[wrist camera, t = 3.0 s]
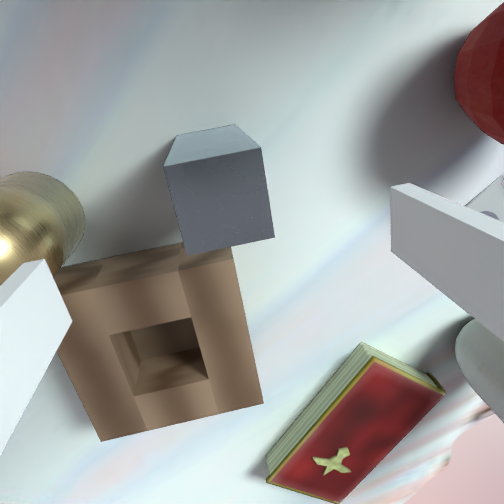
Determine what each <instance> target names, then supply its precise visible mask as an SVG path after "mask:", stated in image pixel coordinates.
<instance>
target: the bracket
mask: <svg viewBox="0 0 504 504" xmlns="http://www.w3.org/2000/svg"><path fill="white" fill-rule="evenodd" d="M503 180H504V178H503V176H502V175H501V176H500V177H499V178H497V179H496V180H495V181H494V182H493V183H491V184H490V185H489V186H488V187H487V188H485V189H484V190H483V191H482V192H481V193H479V194H478V195H477V196H476V197H475V198H474V199H473V200H471V201H470V202H469V203H468V204H467V205H466V207H468V208H470V209H473V210H475V211H478V212H480V213H482V214H485V215H487V216H490V217H492V218H494V219H497V220H499V221H501V222H504V187H503V185H502V182H503Z"/></svg>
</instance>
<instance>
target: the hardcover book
mask: <svg viewBox="0 0 504 504" xmlns="http://www.w3.org/2000/svg"><path fill="white" fill-rule="evenodd" d="M446 394H447V393H446V391H445V390H444V389H443V387H442V386H441V385H440V383H439V382H438V381H437V380H436V379H435V378H434V376H433V375H432V374H431V373H428V374H427V375H426V374H424V373H422V372H420V371H418V370H416V369H414V368H413V367H411V366H409V365H407V364H405V363H403V362H401V361H399V360H397V359H395V358H393V357H391V356H389V355H387V354H385V353H383V352H381V351H379V350H377V349H375V348H373V347H371V346H369V345H367V344H365V343H363V342H361V343H360V344H359V345H358V346H357V348H356V349H355V350H354V351H353V352H352V354H351V355H350V356H349V357H348V358H347V360H346V361H345V362H344V363H343V364H342V365H341V367H340V368H339V369H338V370H337V371H336V373H335V374H334V375H333V376H332V377H331V379H330V380H329V381H328V382H327V383H326V385H325V386H324V387H323V388H322V389H321V391H320V392H319V393H318V394H317V395H316V397H315V398H314V399H313V400H312V401H311V402H310V404H309V405H308V406H307V407H306V408H305V410H304V411H303V412H302V413H301V414H300V416H299V417H298V418H297V419H296V420H295V422H294V423H293V424H292V425H291V426H290V428H289V429H288V430H287V431H286V432H285V434H284V435H283V436H282V437H281V438H280V439H279V441H278V442H277V443H276V444H275V445H274V447H273V448H272V449H271V450H270V451H269V453H268V454H267V455H266V460H267V465H268V470H269V476H268V477H267V478H266V483H269V484H272V485H276V486H279V487H282V488H285V489H289V490H292V491H295V492H298V493H302V494H305V495H308V496H311V497H315V498H318V499H321V500H324V501H328V502H331V503H334V504H340V503H341V502H342V501H343V499H344V498H345V497H346V496H347V495H348V494H349V493H350V492H351V491H352V490H353V489H354V488H355V487H356V486H357V485H358V484H359V483H360V482H361V481H362V480H363V479H364V478H365V477H366V476H367V475H368V474H369V473H370V472H371V471H372V470H373V469H374V468H375V467H376V466H377V465H378V464H379V462H380V461H381V460H382V459H383V458H384V457H385V456H386V455H387V454H388V453H389V452H390V451H391V450H392V449H393V448H394V447H395V446H396V445H397V444H398V443H399V442H400V441H401V440H402V439H403V438H404V437H405V436H406V435H407V434H408V433H409V432H410V431H411V430H412V429H413V428H414V427H415V425H416V424H417V423H418V422H419V421H420V420H421V419H422V418H423V417H424V416H425V415H426V414H427V413H428V412H429V411H430V410H431V409H432V408H433V407H434V406H435V405H436V404H437V403H438V402H439V401H440V400H441V399H442V398H443V397H444V396H445V395H446Z"/></svg>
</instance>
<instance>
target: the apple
mask: <svg viewBox="0 0 504 504" xmlns="http://www.w3.org/2000/svg"><path fill="white" fill-rule="evenodd" d="M454 87H455V97H456V100H457V102H458V103H459V105H460V106H461V107H462V109H463V110H464V112H465V113H466V114H467V116H468V117H469V118H470V119H471V120H472V121H473V122H474V123H475V124H476V125H477V126H478V127H479V128H480V129H481V130H482V131H483V132H484V133H486V134H487V135H489V136H490V137H492V138H493V139H495V140H497V141H498V142H500V143H501V144H504V3H502V4H501V5H500V6H499V7H498V8H497V9H495V10H494V11H493V12H492V13H491V14H490V15H489V16H487V17H486V18H485V19H484V20H483V21H482V22H481V23H480V24H479V25H478V26H477V27H476V28H474V29H473V30H472V31H471V32H470V34H469V36H468V37H467V39H466V41H465V43H464V44H463V46H462V48H461V50H460V51H459V53H458V56H457V62H456V67H455V73H454Z"/></svg>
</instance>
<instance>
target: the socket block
mask: <svg viewBox="0 0 504 504" xmlns="http://www.w3.org/2000/svg"><path fill="white" fill-rule="evenodd" d="M53 279H54V281H55V283H56V285H57V288H58V290H59V292H60V294H61V297H62V299H63V301H64V303H65V306H66V308H67V310H68V312H69V315H70V317H71V319H72V323H71V325H70V327H69V329H68V330H67V332H66V334H65V336H64V338H63V340H62V342H61V343H60V345H59V347H58V349H57V353H58V355H59V357H60V359H61V361H62V363H63V365H64V367H65V369H66V371H67V373H68V375H69V377H70V379H71V381H72V383H73V386H74V388H75V390H76V392H77V394H78V396H79V398H80V400H81V402H82V404H83V406H84V408H85V410H86V412H87V414H88V416H89V418H90V420H91V422H92V424H93V426H94V428H95V430H96V432H97V434H98V437H99V439H100V441H101V442H102V441H106V440H110V439H115V438H119V437H123V436H127V435H132V434H136V433H140V432H144V431H149V430H153V429H157V428H161V427H166V426H170V425H174V424H178V423H183V422H187V421H191V420H195V419H200V418H204V417H208V416H212V415H217V414H221V413H225V412H229V411H234V410H238V409H242V408H246V407H251V406H255V405H259V404H263V403H264V402H263V397H262V393H261V388H260V383H259V378H258V374H257V369H256V364H255V359H254V355H253V350H252V345H251V340H250V336H249V331H248V326H247V321H246V317H245V312H244V307H243V302H242V298H241V293H240V288H239V283H238V279H237V274H236V269H235V264H234V260H233V255H232V250H231V247H227V248H222V249H217V250H212V251H208V252H203V253H198V254H193V255H189V256H187V254H186V250H185V246H184V242H182V243H177V244H172V245H167V246H163V247H158V248H153V249H148V250H143V251H139V252H134V253H129V254H124V255H119V256H114V257H110V258H105V259H100V260H95V261H90V262H86V263H81V264H76V265H71V266H66V267H62V268H60V269H59V270H58V271H57V272H56V274H55V275H54V276H53Z"/></svg>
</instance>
